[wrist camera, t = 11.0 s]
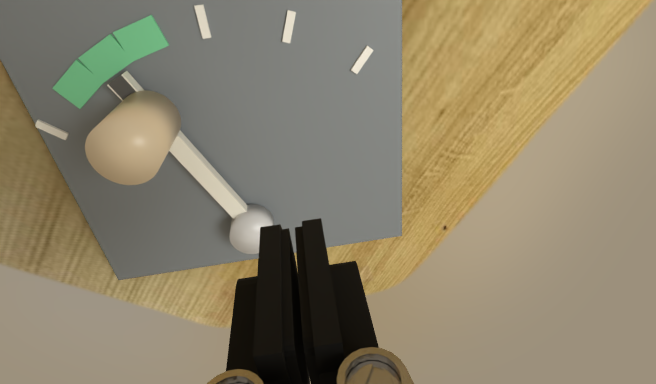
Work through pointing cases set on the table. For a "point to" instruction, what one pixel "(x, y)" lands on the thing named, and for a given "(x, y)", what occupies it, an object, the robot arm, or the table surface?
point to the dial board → (221, 115)
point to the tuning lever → (163, 155)
